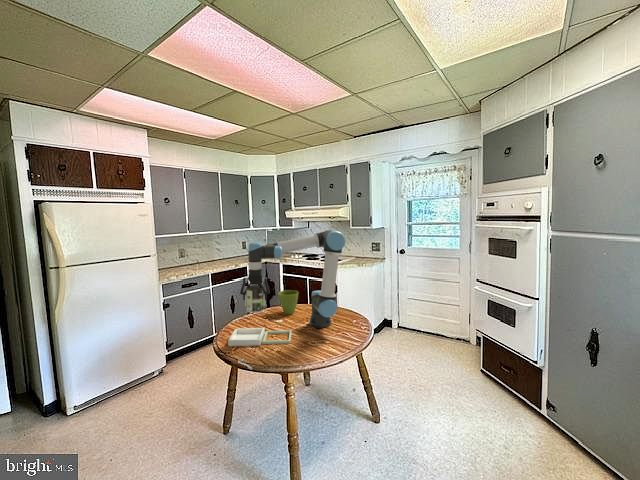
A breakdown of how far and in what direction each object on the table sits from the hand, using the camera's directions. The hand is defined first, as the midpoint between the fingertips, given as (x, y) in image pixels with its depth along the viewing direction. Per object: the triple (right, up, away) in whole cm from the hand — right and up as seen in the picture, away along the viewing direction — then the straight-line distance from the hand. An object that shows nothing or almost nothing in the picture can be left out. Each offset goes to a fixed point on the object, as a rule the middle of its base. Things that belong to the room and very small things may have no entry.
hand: (255, 305), depth 178 cm
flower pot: (+15, -17, +50) cm, 55 cm away
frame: (+13, -20, +3) cm, 24 cm away
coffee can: (0, -3, 0) cm, 3 cm away
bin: (-5, -21, +1) cm, 21 cm away
